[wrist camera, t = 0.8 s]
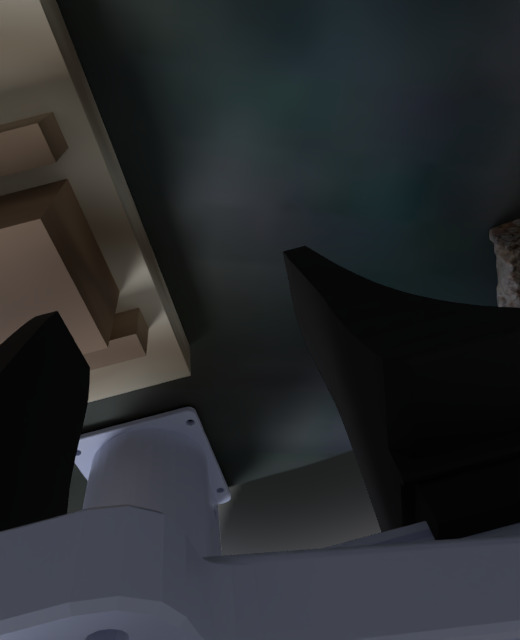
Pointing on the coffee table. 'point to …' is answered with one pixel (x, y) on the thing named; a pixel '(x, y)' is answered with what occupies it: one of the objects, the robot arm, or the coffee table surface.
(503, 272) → the geological specimen
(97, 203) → the deck
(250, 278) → the coffee table surface
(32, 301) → the block
